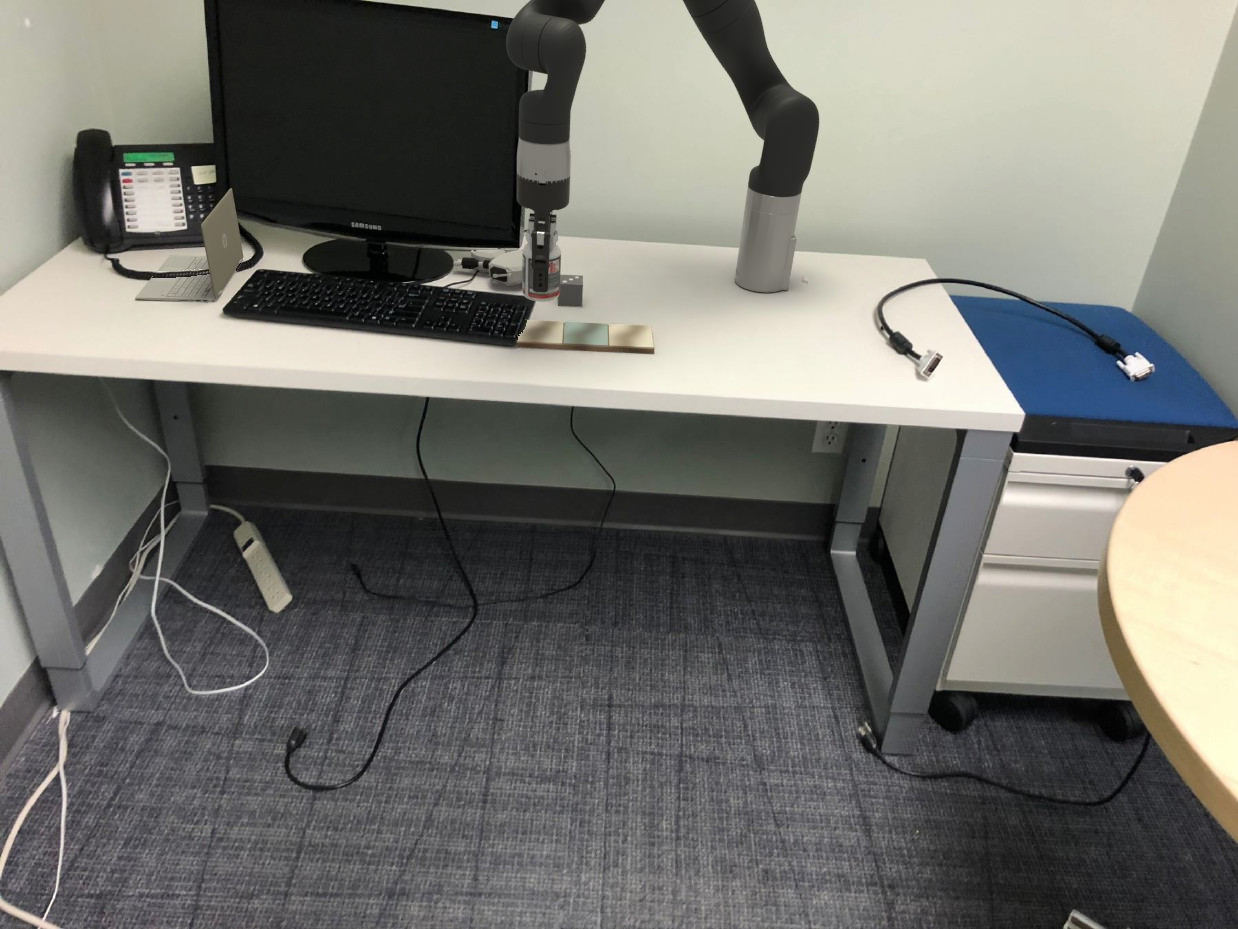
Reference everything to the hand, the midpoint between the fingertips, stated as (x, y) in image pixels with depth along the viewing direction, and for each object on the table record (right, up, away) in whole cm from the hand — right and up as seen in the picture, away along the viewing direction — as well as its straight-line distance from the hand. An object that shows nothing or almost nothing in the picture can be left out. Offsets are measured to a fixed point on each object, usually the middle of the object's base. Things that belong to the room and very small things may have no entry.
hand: (541, 282), depth 141 cm
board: (+6, -8, +5) cm, 11 cm away
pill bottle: (0, -2, +1) cm, 2 cm away
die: (+3, 0, +17) cm, 17 cm away
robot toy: (-9, +6, +25) cm, 27 cm away
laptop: (-59, +3, +15) cm, 61 cm away
